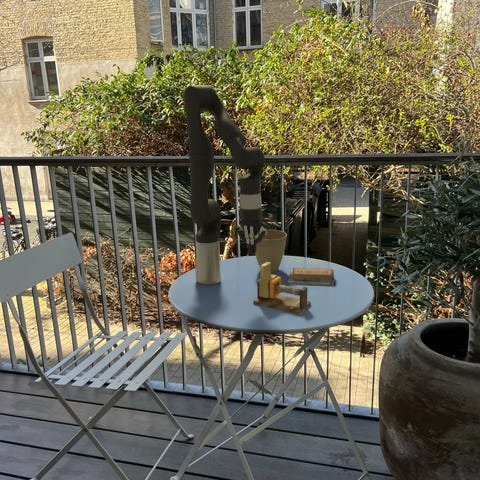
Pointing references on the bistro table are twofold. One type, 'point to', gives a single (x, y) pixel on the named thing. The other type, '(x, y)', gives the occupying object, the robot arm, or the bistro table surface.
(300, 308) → the pipe board
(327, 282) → the packaged product
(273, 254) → the plant pot
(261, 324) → the bistro table surface
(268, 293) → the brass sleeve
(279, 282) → the orange upright board
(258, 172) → the robot arm
